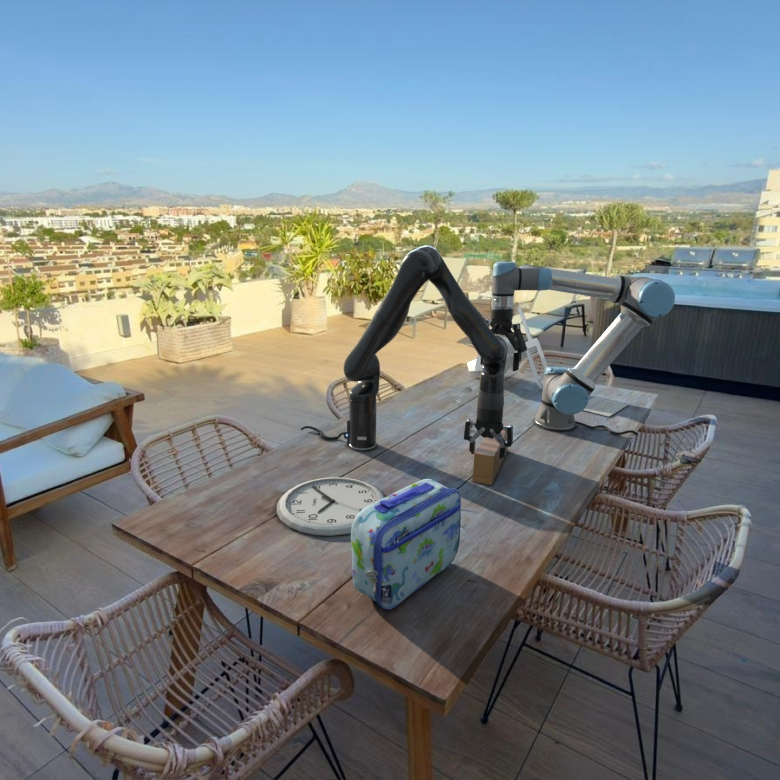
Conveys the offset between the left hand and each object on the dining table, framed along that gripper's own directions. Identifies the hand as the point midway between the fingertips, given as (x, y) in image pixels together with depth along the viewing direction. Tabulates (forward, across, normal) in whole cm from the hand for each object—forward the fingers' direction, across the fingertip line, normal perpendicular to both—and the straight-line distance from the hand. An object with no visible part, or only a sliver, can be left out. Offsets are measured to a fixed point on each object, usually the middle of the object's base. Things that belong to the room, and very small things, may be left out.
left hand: (486, 455), depth 158 cm
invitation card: (+8, +32, +88) cm, 93 cm away
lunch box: (+8, -5, -55) cm, 56 cm away
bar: (+8, 0, +10) cm, 13 cm away
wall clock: (+7, -35, -33) cm, 49 cm away
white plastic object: (+7, -13, +106) cm, 107 cm away
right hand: (-18, -5, +37) cm, 42 cm away
